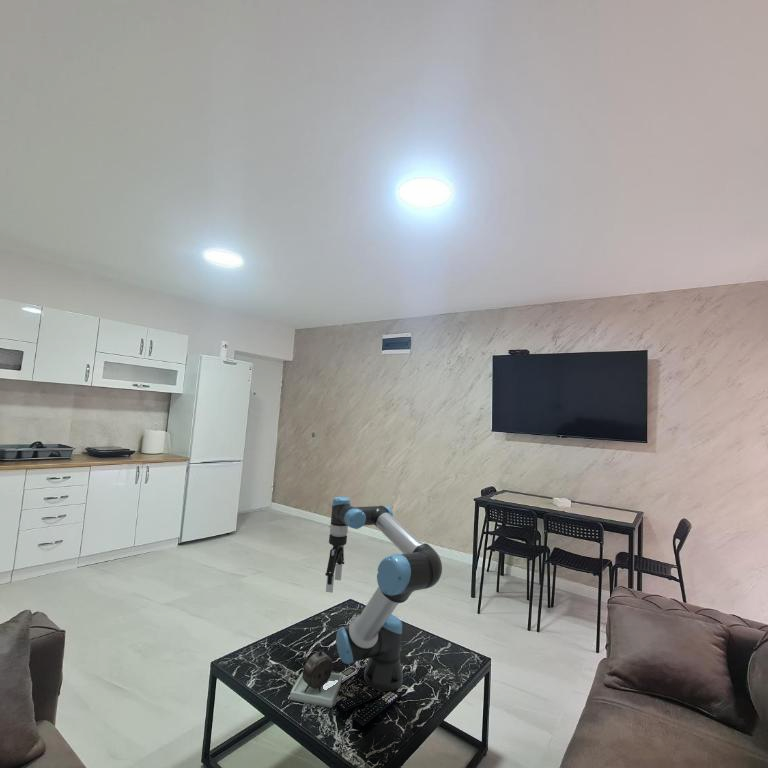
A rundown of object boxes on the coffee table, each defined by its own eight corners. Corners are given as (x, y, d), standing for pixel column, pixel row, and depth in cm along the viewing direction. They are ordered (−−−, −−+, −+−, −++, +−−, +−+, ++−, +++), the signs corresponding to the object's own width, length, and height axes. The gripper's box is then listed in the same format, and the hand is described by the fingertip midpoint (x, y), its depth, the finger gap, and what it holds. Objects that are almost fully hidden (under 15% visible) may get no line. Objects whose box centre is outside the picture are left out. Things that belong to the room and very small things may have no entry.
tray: (342, 681, 158) (343, 674, 158) (331, 707, 143) (332, 700, 143) (304, 674, 161) (304, 667, 161) (289, 699, 146) (290, 692, 146)
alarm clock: (324, 679, 157) (328, 635, 158) (333, 687, 153) (337, 641, 154) (300, 691, 149) (304, 643, 151) (308, 699, 145) (313, 650, 147)
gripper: (337, 526, 191) (332, 574, 189) (321, 541, 166) (316, 596, 164) (353, 528, 190) (349, 576, 188) (339, 543, 165) (334, 598, 163)
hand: (333, 585), depth 176 cm, fingers open, 13 cm apart
